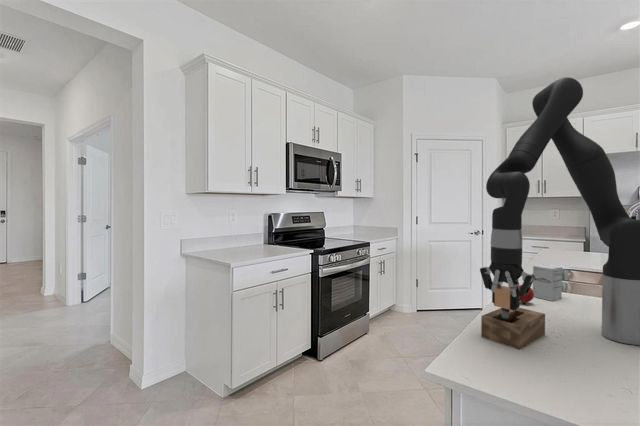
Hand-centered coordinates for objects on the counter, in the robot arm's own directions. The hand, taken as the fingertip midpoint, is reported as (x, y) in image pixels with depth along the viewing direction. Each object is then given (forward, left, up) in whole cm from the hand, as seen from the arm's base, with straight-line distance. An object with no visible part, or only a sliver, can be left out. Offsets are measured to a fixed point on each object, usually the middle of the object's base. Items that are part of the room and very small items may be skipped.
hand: (505, 307), depth 90 cm
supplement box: (+9, -53, -9) cm, 55 cm away
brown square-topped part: (0, 0, -8) cm, 8 cm away
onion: (+11, -38, -9) cm, 41 cm away
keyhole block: (0, -4, -9) cm, 10 cm away
